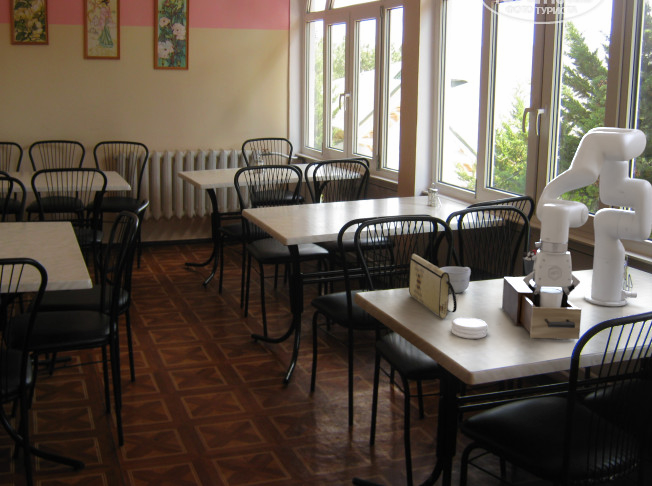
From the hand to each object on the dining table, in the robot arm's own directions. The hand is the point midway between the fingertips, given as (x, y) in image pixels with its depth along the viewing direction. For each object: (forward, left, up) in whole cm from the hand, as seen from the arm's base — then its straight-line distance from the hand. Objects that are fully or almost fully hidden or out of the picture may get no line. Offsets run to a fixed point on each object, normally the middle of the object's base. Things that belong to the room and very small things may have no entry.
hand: (549, 306), depth 214 cm
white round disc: (+23, +2, -8) cm, 25 cm away
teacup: (+18, -45, -8) cm, 49 cm away
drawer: (0, +2, -7) cm, 7 cm away
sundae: (-10, -53, -8) cm, 54 cm away
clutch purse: (+30, -24, -8) cm, 39 cm away
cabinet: (0, -15, -8) cm, 17 cm away
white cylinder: (0, 0, -2) cm, 2 cm away
